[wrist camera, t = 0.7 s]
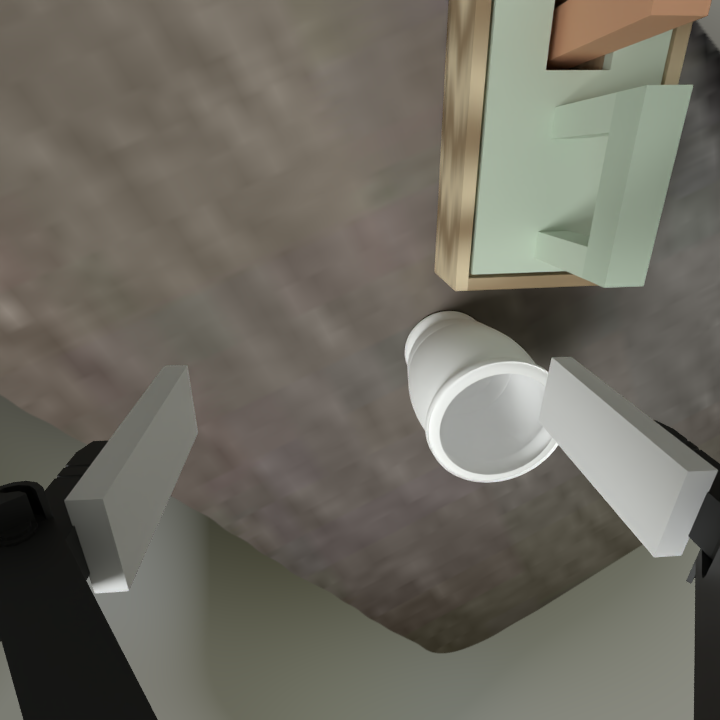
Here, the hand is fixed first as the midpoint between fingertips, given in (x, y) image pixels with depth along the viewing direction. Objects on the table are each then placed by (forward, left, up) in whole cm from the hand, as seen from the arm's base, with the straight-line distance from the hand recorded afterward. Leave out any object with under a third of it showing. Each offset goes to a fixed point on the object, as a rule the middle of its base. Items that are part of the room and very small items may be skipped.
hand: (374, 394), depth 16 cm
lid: (-9, +17, -21) cm, 28 cm away
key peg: (-16, +17, -26) cm, 35 cm away
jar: (+10, +11, -27) cm, 31 cm away
